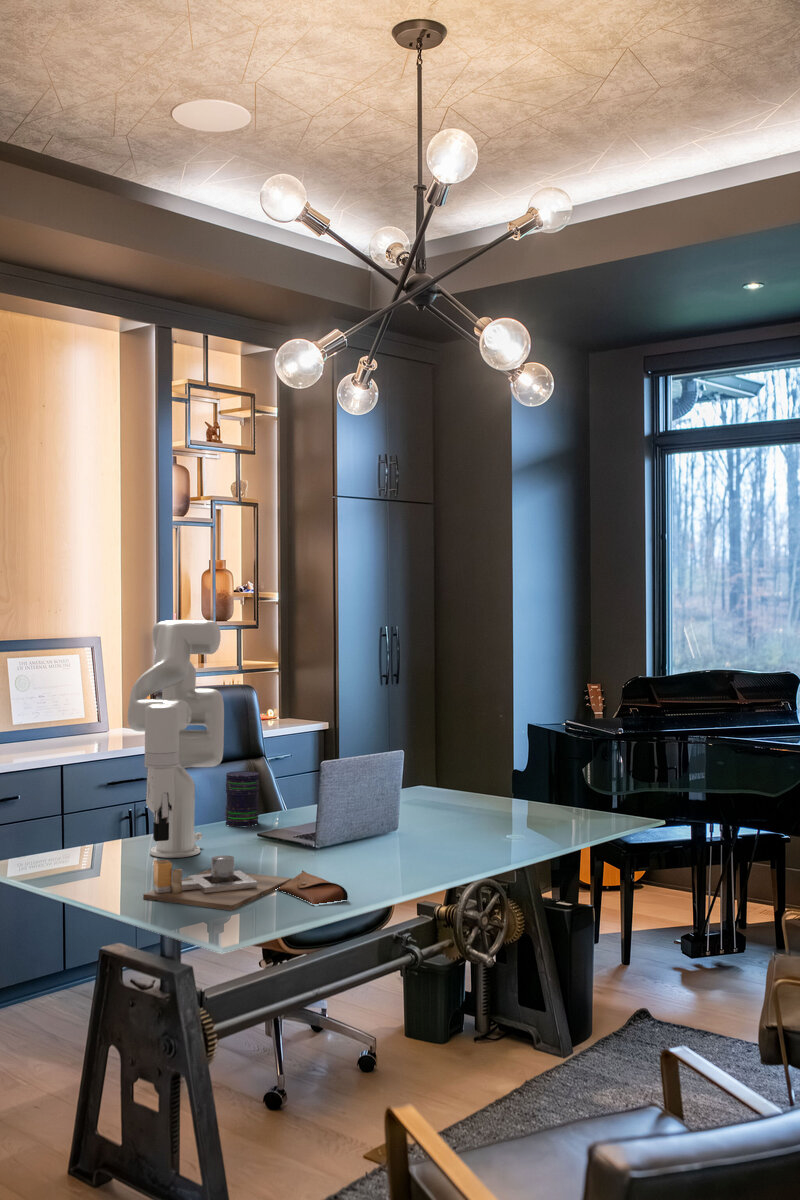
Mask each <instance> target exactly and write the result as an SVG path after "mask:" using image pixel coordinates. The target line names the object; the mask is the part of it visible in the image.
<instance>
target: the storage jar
mask: <svg viewBox="0 0 800 1200" xmlns="http://www.w3.org/2000/svg"><path fill="white" fill-rule="evenodd" d="M259 776H260V773H259V772H257V771H245V770H244V771H243V770H240V771H238V770H237V771H230V772H226V775H225V777H226V779H225V781H226V782H225V794H226V806H225V811H224V812H225V813H224V815H225V826H227V825H229V826H228V827H230V826H251V827H253V826H252V825H255V824H258V825H259V816H260V811H259V792H260V791H259V790H260V777H259Z"/></svg>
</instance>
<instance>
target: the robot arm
mask: <svg viewBox="0 0 800 1200" xmlns="http://www.w3.org/2000/svg"><path fill="white" fill-rule="evenodd" d="M221 637H222V636H221V629H220V625H219V624H218V622H216V621H214V620H195V619H194V620H192V619H191V620H189V619H188V620H187V619H171V620H170V619H169V620H163V621H159V622H156V623H155V624H154V626H153V627H152V642H153V646H154V649H155V653H154V662H153V666H150V667H149V669H147V670H146V671H144V673H142V674H141V675H140V676H139V677H138V678H137V680H136V681H135V683H134V684H133V686H132V688H131V689H130V695H129V701H128V707H127V722H128V725H129V727H130V729H132V730H133V731H135V732H139V733H140V732H143V733H144V767H145V768H147V776H146V799H145V801H146V802H145V805H146V806H147V808H148V809H149V810H150V812H152V813H153V828H152V829H153V835H152V836H153V837H152V839H153V840H154V842H156V845H155V846H152V847H151V848H150V849H149V851H150V852H149V854H150V855H151V856H153V857H156V858H163V859H165V858H166V859H174V858H175V859H176V858H177V859H179V858H189V857H192V856H196V855H198V854H200V852H201V847H200V846H198V845H196V842H197V841H200V840H202V839H203V833H202V832H195V803H196V802H195V801H196V798H195V796H196V794H195V793H196V787H195V786H196V784H195V781H194V779H193V777H192V776H191V775H190V774H189V773H188V771H187V770H186V768H213V767H217V766H219V765H220V764H221V762H222V761H223V759H224V758H223V757H224V747H225V746H224V737H225V736H224V735H225V732H224V731H225V730H224V729H225V727H224V726H225V703H224V699H223V695H222V693H221V692H220V691H219V690H218V689H215V688H197V685H196V684H197V678H196V677H197V671H196V668H195V666H194V664H193V663H192V662H191V655H213V654H215V653H216V652H217V651H218V649H219V647H220V645H221V644H220V643H221ZM160 691H161V692H162V693H161V694H162V695H161V698H148V697H149V696H150V695H152V694H155V693H157V692H160ZM188 726H203V727H205V728H206V729H187V727H188Z"/></svg>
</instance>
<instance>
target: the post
mask: <svg viewBox="0 0 800 1200" xmlns="http://www.w3.org/2000/svg"><path fill="white" fill-rule="evenodd" d="M210 861H211V862H210V863H211V865H210V866H211V867H210V869H211V884H216V883H225V882H234V871H235V857H234V856H232V855H215V856H212V857H211V860H210Z"/></svg>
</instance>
